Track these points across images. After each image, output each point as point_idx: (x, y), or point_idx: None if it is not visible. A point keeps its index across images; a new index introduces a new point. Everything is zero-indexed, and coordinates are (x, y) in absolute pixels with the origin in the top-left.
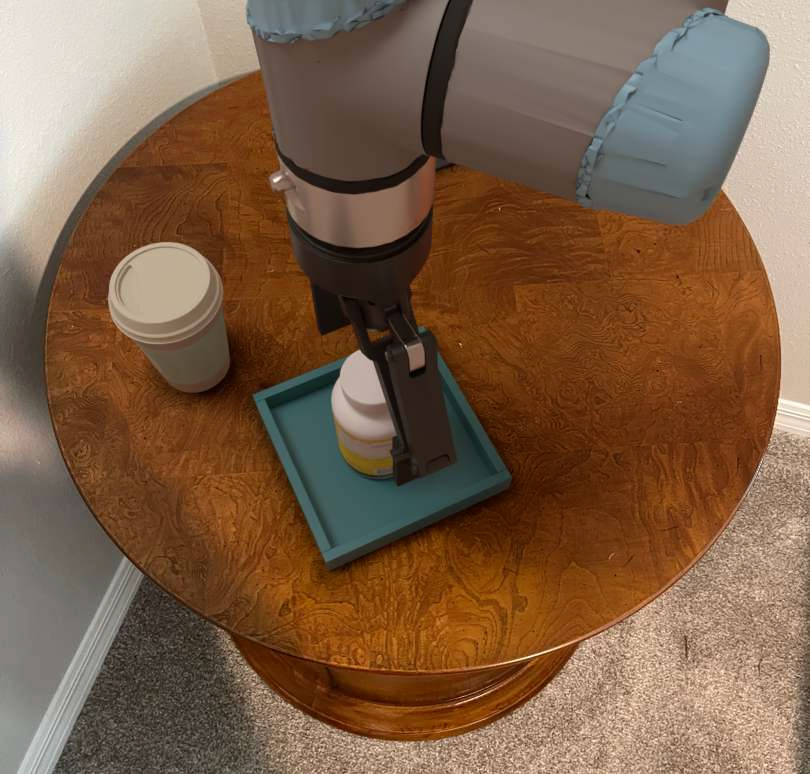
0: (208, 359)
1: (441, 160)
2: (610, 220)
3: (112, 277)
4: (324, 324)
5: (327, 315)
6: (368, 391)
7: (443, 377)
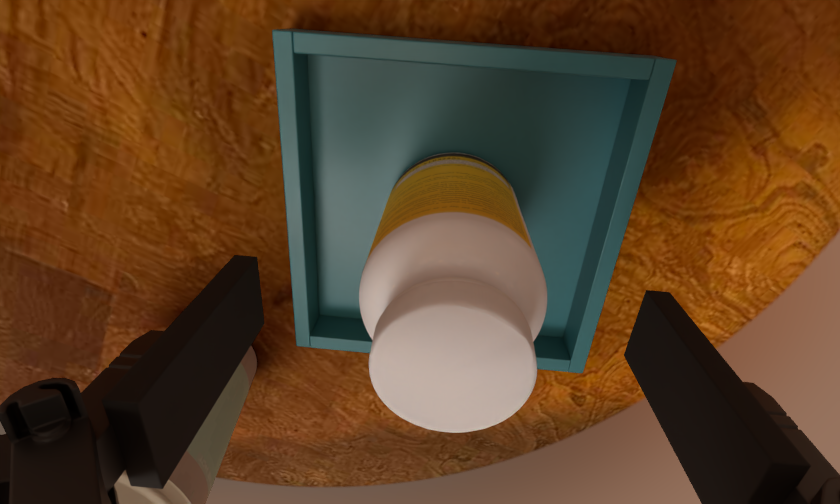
0: (226, 407)
1: None
2: None
3: None
4: (248, 338)
5: (234, 349)
6: (486, 401)
7: (407, 61)
